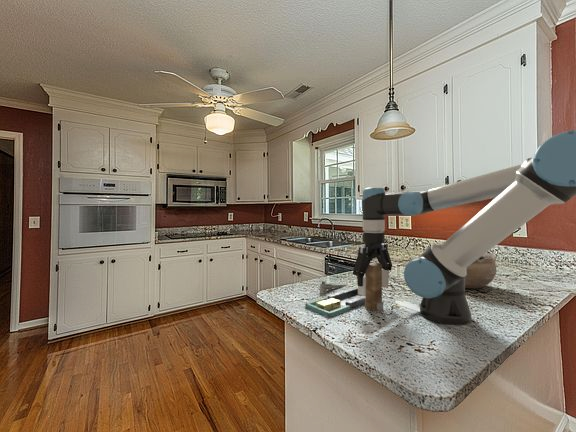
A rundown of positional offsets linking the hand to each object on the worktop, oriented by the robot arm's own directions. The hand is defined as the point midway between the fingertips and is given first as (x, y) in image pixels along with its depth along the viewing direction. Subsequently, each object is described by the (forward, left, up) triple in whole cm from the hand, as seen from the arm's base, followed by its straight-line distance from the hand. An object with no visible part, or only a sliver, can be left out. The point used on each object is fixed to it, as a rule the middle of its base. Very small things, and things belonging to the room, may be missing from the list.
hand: (373, 291), depth 96 cm
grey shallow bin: (+10, -2, -7) cm, 13 cm away
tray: (+10, +13, -7) cm, 18 cm away
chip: (+10, +10, -7) cm, 16 cm away
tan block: (+11, +14, -7) cm, 19 cm away
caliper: (+25, -7, -8) cm, 27 cm away
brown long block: (0, 0, -7) cm, 7 cm away
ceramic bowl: (-9, -59, -7) cm, 60 cm away
